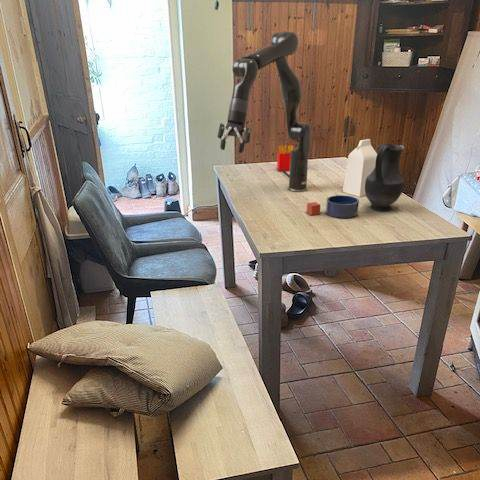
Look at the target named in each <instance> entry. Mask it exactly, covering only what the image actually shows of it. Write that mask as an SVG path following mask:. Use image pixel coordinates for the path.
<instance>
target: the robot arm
mask: <svg viewBox="0 0 480 480" xmlns="http://www.w3.org/2000/svg"><path fill="white" fill-rule="evenodd" d="M299 44H300V43H299V36H298V35H297V33H296V32H294V31H279V32H274V33H273V34H272V36H271V40H270V45H268V46H264V47H262V48H261V47H260V48H259V49H257V50H255V51H254V52H253V53H250V54H247V55H244V56H240V57H238V58H237V59H235V60H234V62H233V63H232V67H231V69H232V70H231V71H232V73H233V75H234V76H235V77H236V78H239V79H242V80H241V81H240V82H236V83H234V85H233V87H232V93H231V100H230V103H229V108H228V115H227V123H226V124H225V123H222V122H220V124H219V128H218V132H217V138H218V139H220V146H219V148H220V150H221V151H225V149H226V145H227V144H226V143H227V142H226V140H227V139H228V138H229V137H236V138H237V139H238V140H239V142H240V143H239V145H238V153H239V154H242V153H243V152H244V149H245V145H246V144H249V143H250V140H251V133H252V132H251V131H252V128H251V127H248V126H247V127H245V125H246V121H247V113H248V109H249V108H248V107H249V99H250V93H251V90H252V88H253V85H254V82H255V81H256V78H257V76H258V72H259V71H261V70H262V69H264V68H266V67H267V66H269V65H270V64H272V63H275V66H276V70H277V74H278V79H279V84H280V92H281V97H282V102H283V105H284V113H285V120H286V129H287V131H286V132H287V137H288V138H289V139H288V140H290V141H291V142H295V143H298V145H297V147H296V148H293V149H292V150H291V152H290V171H289V173H288V172H287V171H284V170H282V171H281V172H282V173H284V174H285V176H287V177H289V179H288V181H289V182H288V190H289V191H291V192H304V191H306V190H307V183H308V167H309V153H310V150H311V143H312V134H313V133H312V126H311V124H309V123H307V122H306V123H305V122H300V121H299V119H298V108H299V106H300V104H301V101H302V98H303V92H302V86H301V82H300V79H299V78H298V76H297V75H296V73H295V72H294V70H293V69H292V68H291V66H290V65H289V62H288V59H287V56H288V57H289V56H292V55H294V54H295V53H297V51H298V49H299ZM225 130H226V131H225ZM243 133H244V134H243Z"/></svg>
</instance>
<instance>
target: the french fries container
mask: <svg viewBox="0 0 480 480" xmlns="http://www.w3.org/2000/svg"><path fill="white" fill-rule="evenodd" d="M294 147H295V146H294V145H293V144H290V145H289V144H288V148H287V144H285V145H282V144H281V145H279V146H278V151H277V161H276V169H277V171H279V172H283V171H282V170H284V171H285V172H290V152H291V150H292V149H295V148H294Z"/></svg>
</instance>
